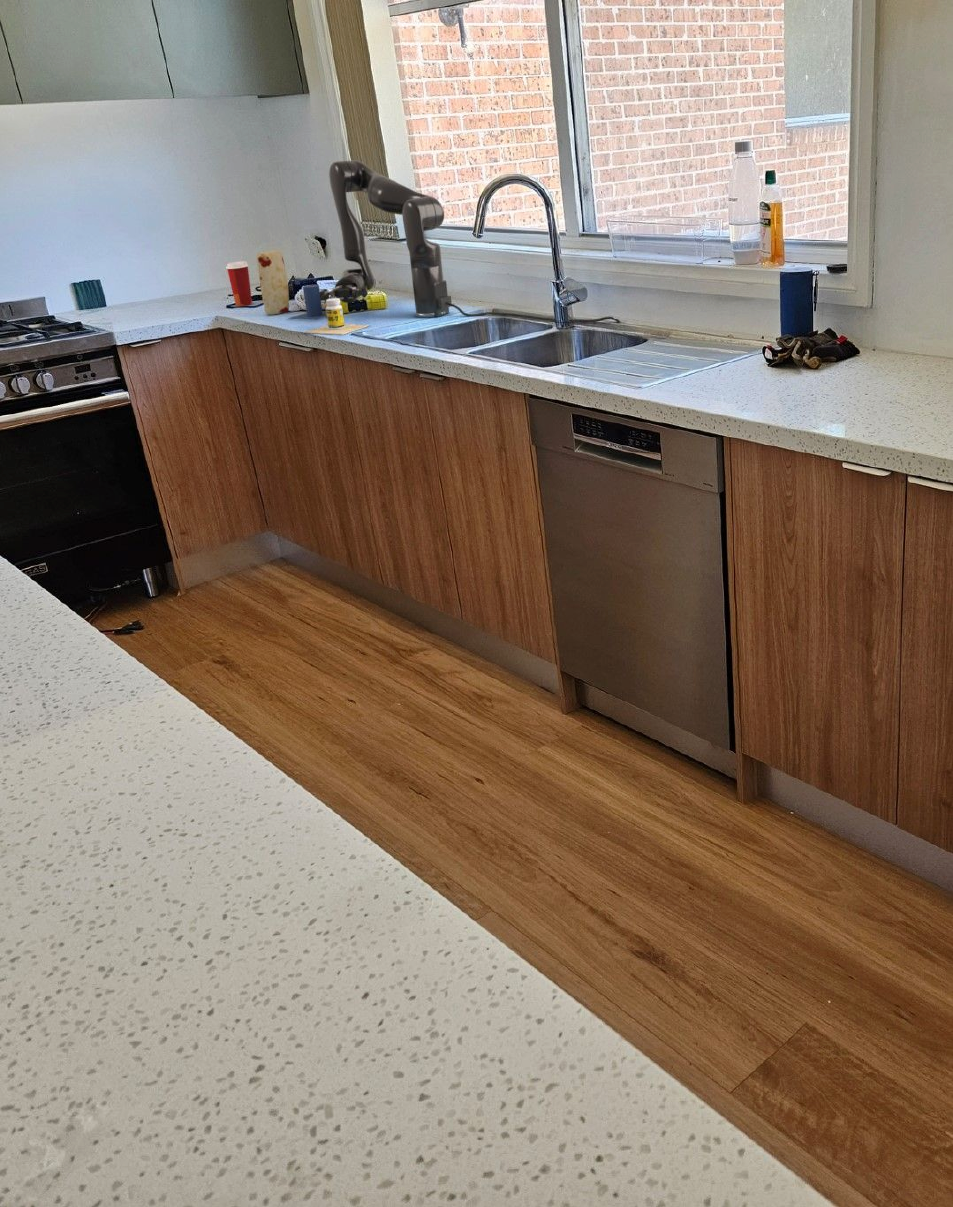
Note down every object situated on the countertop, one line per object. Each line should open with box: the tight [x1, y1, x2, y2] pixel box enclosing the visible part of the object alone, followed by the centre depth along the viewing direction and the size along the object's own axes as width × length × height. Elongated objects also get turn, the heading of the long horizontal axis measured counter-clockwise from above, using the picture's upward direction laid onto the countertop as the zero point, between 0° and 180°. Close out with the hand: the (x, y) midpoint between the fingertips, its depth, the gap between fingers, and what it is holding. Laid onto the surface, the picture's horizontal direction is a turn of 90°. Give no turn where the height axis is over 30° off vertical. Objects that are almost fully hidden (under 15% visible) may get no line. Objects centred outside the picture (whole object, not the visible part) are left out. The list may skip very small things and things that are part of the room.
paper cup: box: [225, 260, 253, 307], centre depth 370 cm, size 8×8×14 cm
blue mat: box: [288, 310, 327, 321], centre depth 340 cm, size 12×12×1 cm
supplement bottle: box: [325, 297, 345, 330], centre depth 314 cm, size 5×5×8 cm
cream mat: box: [305, 323, 369, 336], centre depth 316 cm, size 14×12×1 cm
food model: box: [256, 249, 290, 316], centre depth 345 cm, size 10×7×20 cm
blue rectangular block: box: [302, 284, 324, 317], centre depth 338 cm, size 5×5×9 cm
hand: (339, 297), depth 321 cm, fingers open, 8 cm apart
